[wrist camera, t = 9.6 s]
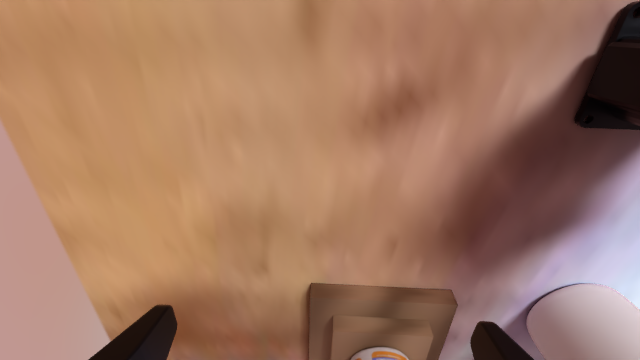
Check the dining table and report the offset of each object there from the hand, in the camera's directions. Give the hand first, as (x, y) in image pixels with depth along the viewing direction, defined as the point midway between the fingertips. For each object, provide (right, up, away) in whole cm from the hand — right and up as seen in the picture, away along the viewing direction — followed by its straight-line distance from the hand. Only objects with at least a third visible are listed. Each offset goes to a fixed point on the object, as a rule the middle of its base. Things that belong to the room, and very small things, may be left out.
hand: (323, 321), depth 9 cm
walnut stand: (+5, -10, +19) cm, 23 cm away
